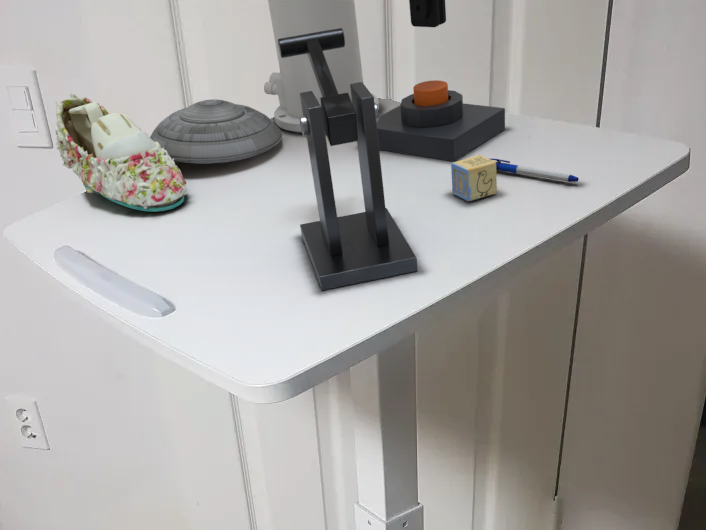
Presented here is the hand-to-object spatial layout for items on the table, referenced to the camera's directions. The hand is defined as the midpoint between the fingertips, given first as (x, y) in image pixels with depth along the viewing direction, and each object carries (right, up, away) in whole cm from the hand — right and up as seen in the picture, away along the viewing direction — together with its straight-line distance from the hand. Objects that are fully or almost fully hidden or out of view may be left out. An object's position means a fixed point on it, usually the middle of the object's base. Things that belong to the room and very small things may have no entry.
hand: (428, 24), depth 84 cm
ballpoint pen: (+9, -17, -3) cm, 19 cm away
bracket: (-7, -27, -12) cm, 30 cm away
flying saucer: (-23, -8, +11) cm, 27 cm away
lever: (-9, -15, -16) cm, 23 cm away
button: (+1, -6, +5) cm, 8 cm away
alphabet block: (+4, -19, -5) cm, 20 cm away
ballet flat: (-33, -13, +8) cm, 37 cm away
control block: (+1, -8, +8) cm, 11 cm away
